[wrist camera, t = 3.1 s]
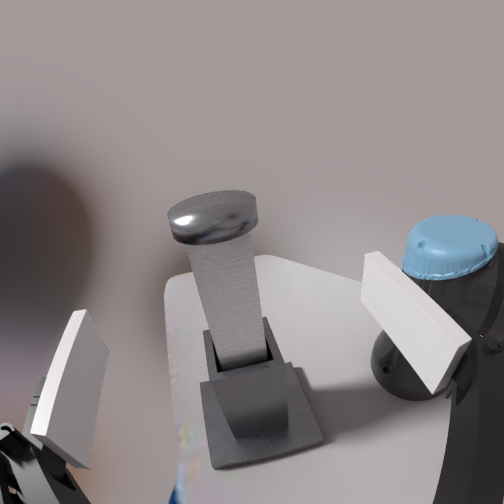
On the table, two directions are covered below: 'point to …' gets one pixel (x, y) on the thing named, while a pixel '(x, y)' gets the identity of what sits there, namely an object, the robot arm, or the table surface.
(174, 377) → the table surface
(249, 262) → the column
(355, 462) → the table surface
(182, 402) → the table surface
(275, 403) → the jack stand base
